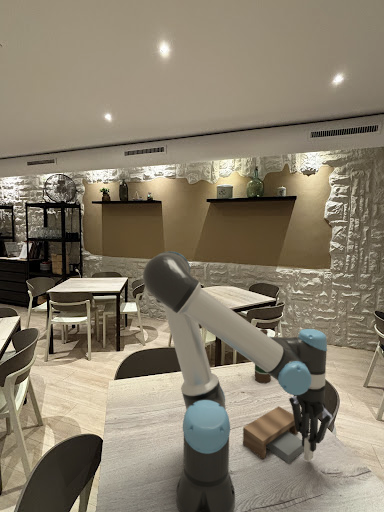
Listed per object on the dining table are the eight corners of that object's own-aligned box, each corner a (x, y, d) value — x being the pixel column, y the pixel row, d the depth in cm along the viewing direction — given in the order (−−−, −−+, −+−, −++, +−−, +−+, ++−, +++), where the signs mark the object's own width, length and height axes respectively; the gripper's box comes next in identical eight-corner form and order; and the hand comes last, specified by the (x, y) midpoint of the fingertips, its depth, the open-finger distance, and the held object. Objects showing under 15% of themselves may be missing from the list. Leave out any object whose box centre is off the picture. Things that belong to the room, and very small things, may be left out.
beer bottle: (267, 385, 132) (269, 333, 130) (251, 380, 136) (252, 330, 134) (273, 378, 138) (274, 329, 136) (257, 373, 142) (258, 326, 140)
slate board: (288, 464, 87) (288, 455, 87) (259, 443, 96) (259, 434, 96) (304, 451, 93) (305, 442, 93) (275, 432, 101) (276, 424, 101)
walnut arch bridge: (262, 459, 89) (263, 441, 88) (242, 444, 95) (243, 427, 95) (297, 433, 100) (298, 417, 100) (278, 421, 107) (278, 406, 106)
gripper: (339, 387, 83) (336, 465, 84) (297, 370, 93) (295, 440, 95) (326, 397, 78) (323, 479, 80) (284, 378, 88) (282, 451, 90)
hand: (308, 458), depth 87 cm, fingers closed
